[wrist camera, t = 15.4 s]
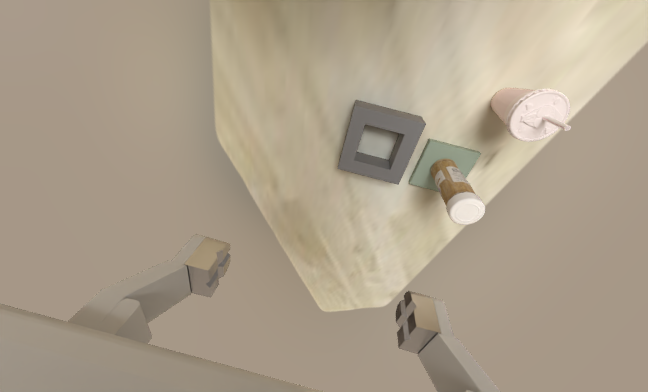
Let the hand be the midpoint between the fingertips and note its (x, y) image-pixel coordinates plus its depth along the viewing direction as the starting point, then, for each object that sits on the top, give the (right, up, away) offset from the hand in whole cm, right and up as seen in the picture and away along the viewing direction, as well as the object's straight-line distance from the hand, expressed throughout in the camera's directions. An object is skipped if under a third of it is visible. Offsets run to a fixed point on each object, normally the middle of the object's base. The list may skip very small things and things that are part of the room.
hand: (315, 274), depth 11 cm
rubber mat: (+22, +9, +35) cm, 42 cm away
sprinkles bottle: (+22, +9, +34) cm, 42 cm away
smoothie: (+29, +19, +28) cm, 44 cm away
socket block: (+10, +14, +34) cm, 38 cm away
